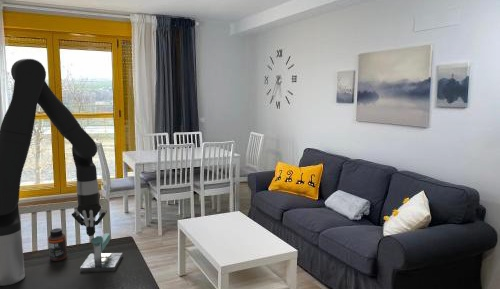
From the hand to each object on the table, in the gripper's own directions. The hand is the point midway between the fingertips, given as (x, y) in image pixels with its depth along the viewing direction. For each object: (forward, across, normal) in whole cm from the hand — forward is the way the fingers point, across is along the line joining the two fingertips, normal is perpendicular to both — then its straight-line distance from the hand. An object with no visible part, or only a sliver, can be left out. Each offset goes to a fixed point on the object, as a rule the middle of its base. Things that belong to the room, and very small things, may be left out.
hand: (91, 235), depth 151 cm
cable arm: (+3, +5, -5) cm, 8 cm away
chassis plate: (+9, +5, -6) cm, 12 cm away
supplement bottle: (+9, -13, 0) cm, 16 cm away
